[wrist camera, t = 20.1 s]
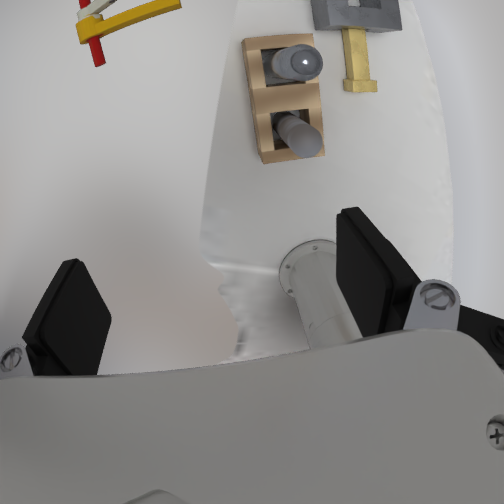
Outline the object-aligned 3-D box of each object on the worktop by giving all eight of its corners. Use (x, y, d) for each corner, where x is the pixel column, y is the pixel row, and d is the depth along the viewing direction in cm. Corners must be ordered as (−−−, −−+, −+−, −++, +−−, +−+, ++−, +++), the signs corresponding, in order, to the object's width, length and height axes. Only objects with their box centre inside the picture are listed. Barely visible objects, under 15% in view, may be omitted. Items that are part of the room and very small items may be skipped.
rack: (313, 146, 42) (344, 173, 32) (258, 153, 42) (272, 184, 32) (301, 37, 33) (333, 26, 23) (241, 42, 33) (250, 31, 23)
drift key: (367, 89, 37) (377, 91, 35) (344, 90, 37) (353, 92, 35) (359, 14, 31) (369, 12, 28) (335, 13, 31) (344, 10, 28)
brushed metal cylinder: (290, 76, 36) (329, 80, 23) (264, 79, 36) (289, 83, 23) (287, 51, 34) (324, 42, 21) (260, 54, 34) (283, 44, 21)
